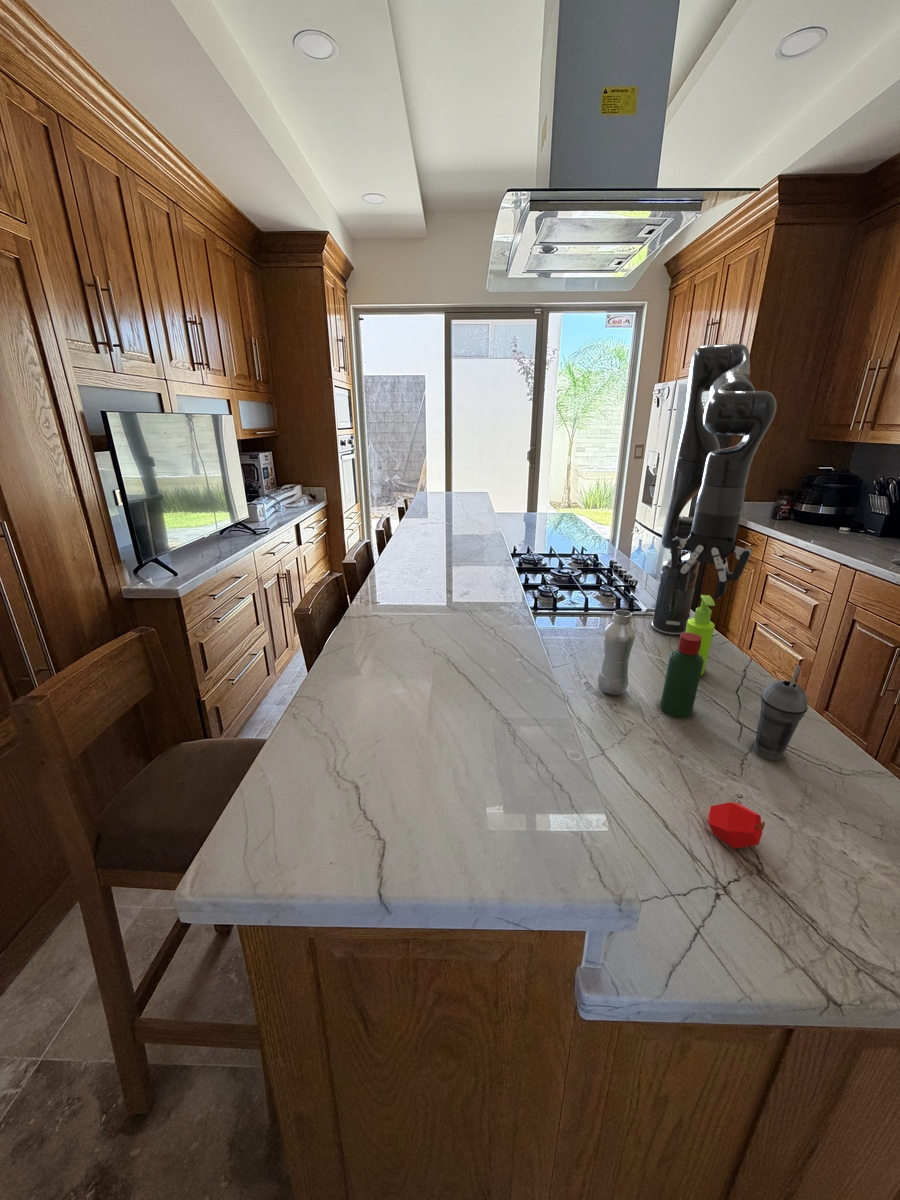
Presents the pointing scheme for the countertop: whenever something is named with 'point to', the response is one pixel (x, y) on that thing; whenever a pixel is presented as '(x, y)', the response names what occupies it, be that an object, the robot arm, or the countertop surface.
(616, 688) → the plastic bottle
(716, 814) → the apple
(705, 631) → the soap dispenser
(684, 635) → the cap
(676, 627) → the robot arm
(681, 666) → the oil bottle
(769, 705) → the beverage cup
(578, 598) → the countertop surface
